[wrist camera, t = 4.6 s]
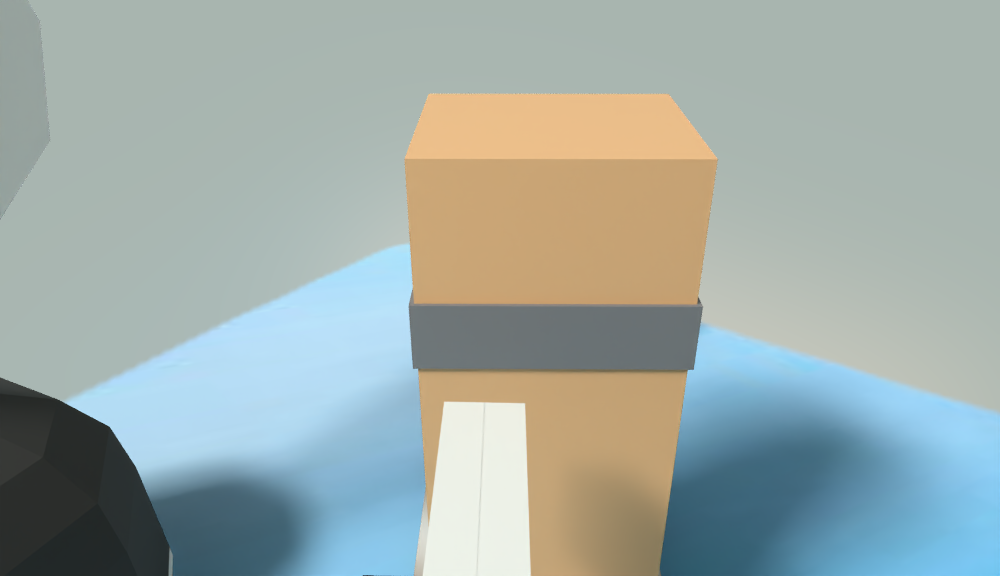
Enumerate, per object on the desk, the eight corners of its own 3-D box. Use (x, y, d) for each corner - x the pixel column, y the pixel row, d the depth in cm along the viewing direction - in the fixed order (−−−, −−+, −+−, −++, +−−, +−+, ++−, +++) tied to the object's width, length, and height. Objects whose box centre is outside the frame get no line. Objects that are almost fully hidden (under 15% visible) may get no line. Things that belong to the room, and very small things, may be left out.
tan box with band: (646, 686, 22) (724, 160, 14) (434, 685, 22) (398, 160, 14) (623, 547, 26) (671, 92, 19) (447, 546, 27) (425, 93, 19)
